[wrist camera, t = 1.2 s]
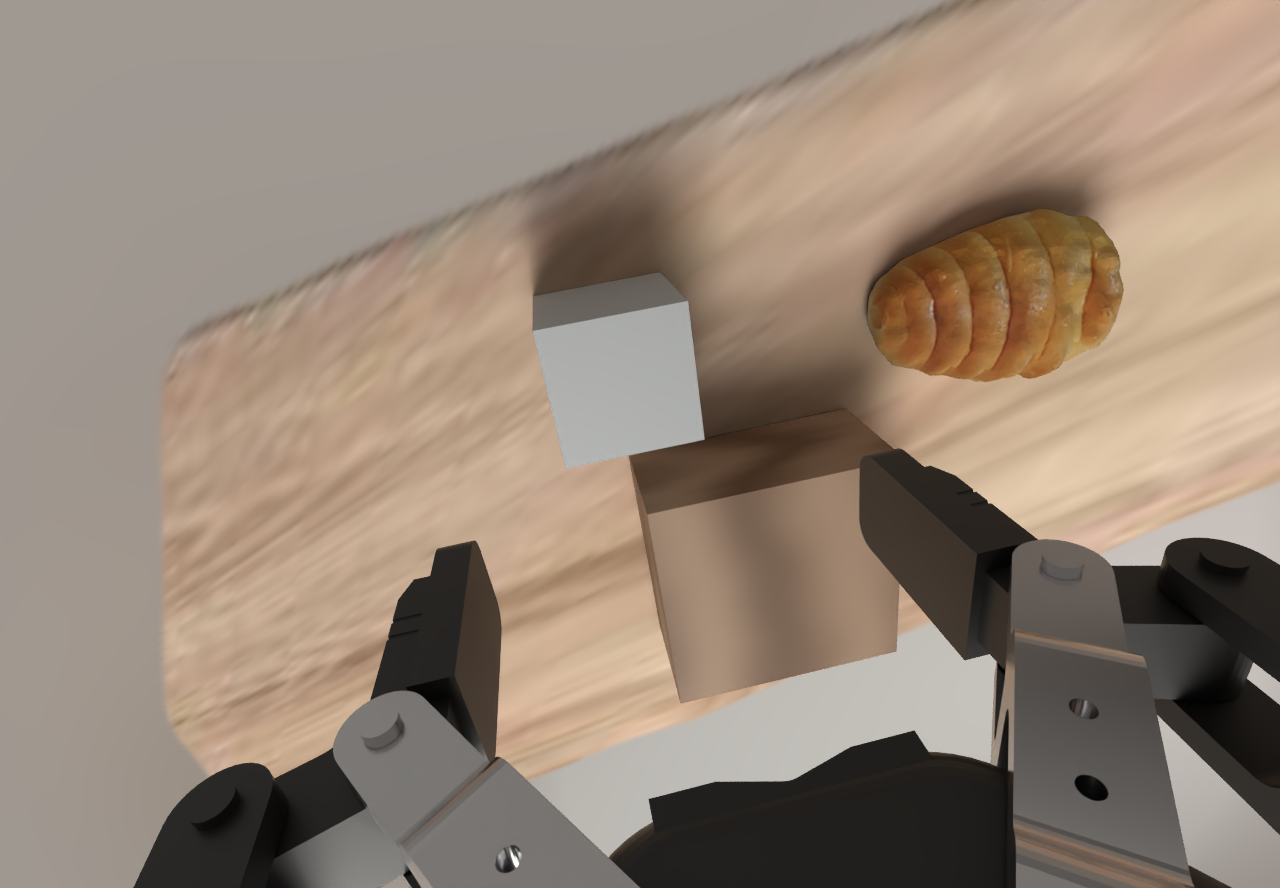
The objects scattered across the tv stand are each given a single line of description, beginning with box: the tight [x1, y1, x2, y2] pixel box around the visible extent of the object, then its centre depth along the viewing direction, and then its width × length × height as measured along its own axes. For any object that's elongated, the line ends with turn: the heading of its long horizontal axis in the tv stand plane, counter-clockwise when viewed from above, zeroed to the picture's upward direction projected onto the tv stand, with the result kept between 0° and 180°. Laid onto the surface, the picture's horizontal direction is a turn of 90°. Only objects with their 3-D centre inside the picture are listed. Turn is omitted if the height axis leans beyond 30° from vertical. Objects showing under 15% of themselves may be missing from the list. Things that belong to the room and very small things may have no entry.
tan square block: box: [629, 409, 899, 703], centre depth 28 cm, size 10×10×5 cm
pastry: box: [867, 209, 1124, 382], centre depth 25 cm, size 9×7×4 cm
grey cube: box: [533, 272, 705, 469], centre depth 23 cm, size 5×5×5 cm
